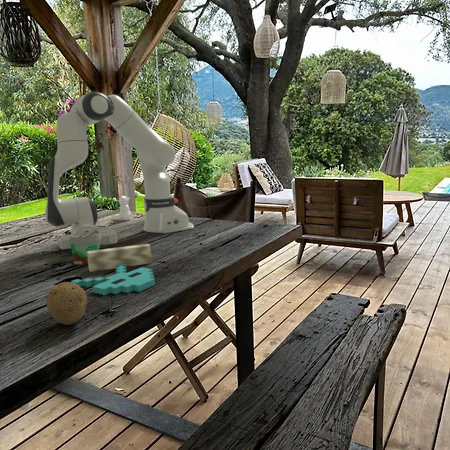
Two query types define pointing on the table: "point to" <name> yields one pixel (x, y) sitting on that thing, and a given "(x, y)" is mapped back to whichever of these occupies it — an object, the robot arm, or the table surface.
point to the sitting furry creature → (123, 210)
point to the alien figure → (120, 281)
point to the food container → (84, 247)
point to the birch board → (119, 257)
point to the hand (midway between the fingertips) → (91, 244)
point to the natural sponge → (66, 302)
